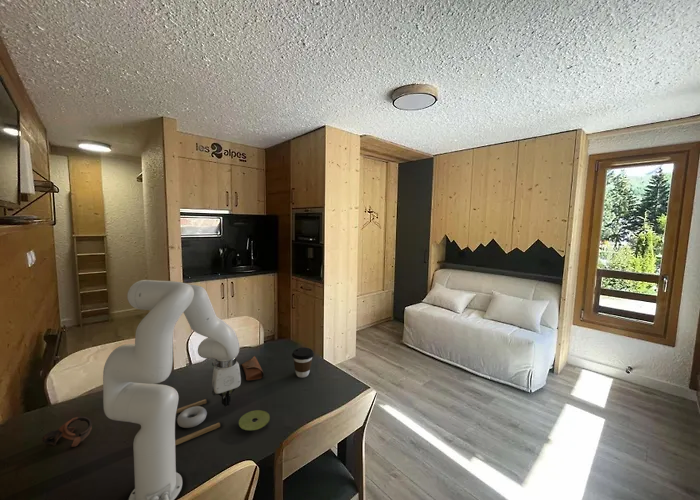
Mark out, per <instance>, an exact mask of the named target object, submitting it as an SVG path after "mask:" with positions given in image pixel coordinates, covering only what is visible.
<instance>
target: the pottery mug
mask: <svg viewBox="0 0 700 500" xmlns="http://www.w3.org/2000/svg"><path fill="white" fill-rule="evenodd" d="M76 421H80V422H86V423H87V425H88V426H87V428H86V429H85V430H83V431H81V432H79V434H78V435H76V433H74V431H75V429H76V426H71V424H73V423H74V422H76ZM92 429H93V422H92V419H90V418H89V417H87V416H84V415H83V416H82V415H81V416H76V417H73V418H71V419H69V420H68V421H66V422H64V423H63V424H62V425H61V426H59V428H57V429H55V430H51V431H48V432H47V433H45V434H44V435H43V436H42V438H41V441H42V443H43V444H45V445H51V446H53V447H56V446H57V443H58V441H59V439H60V438H64V439H66V440H68V441H72V443H71V445H70V447H71V448H75V447H77V446H78V445H79V444H80V443H82V442H83V441H84V440H85V439H86V438H87V437H88V436H89V435H90V434H91V432H92Z"/></svg>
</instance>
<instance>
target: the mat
mask: <svg viewBox="0 0 700 500" xmlns="http://www.w3.org/2000/svg"><path fill="white" fill-rule="evenodd" d="M270 419H271V416H270V413H268V412H267V411H265V410H261V409H256V410H251V411H248V412H246V413H244V414H243V415H242V416H241V417H240V418H239V420H238V426H239V427H240V428H241V429H242V430H245V431H257V430H259V429H262V428H263V427H266V425H268V424H269V422H270Z"/></svg>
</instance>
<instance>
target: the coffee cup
mask: <svg viewBox="0 0 700 500" xmlns="http://www.w3.org/2000/svg"><path fill="white" fill-rule="evenodd" d="M314 355H315V353H314V350H313V349H311V348H309V347H298V348H296V349H294V350H293V351H292V353H291V357H292V359H293V367H294V370H295V371H294V372H295V376H296V377H298V378H306V377H308V376H309V374H310V371H311V368H312V367H311V366H312V362H313V357H314Z"/></svg>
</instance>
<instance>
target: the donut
mask: <svg viewBox="0 0 700 500" xmlns="http://www.w3.org/2000/svg"><path fill="white" fill-rule="evenodd" d="M207 415H208V412H207V409H206V408H205V407H203V406H201V405H200V406H195V407H190V408H188V409H186V410H184V411H183V412H180V414H178V416H177V419H176V422H177V425H178V426H179V427H180V428H183V429H191V428H195V427H197V426H199V425H200V424H202V423H203V422H204V421H205V420H206V418H207Z"/></svg>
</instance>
